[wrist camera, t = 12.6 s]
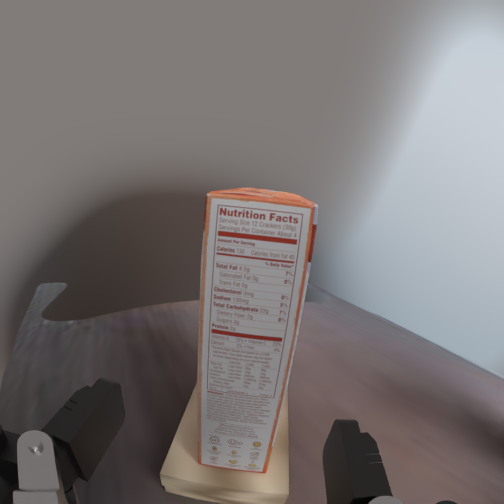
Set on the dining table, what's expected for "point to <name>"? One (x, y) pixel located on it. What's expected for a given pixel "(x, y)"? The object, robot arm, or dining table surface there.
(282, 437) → the birch stand
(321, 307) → the dining table surface
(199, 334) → the cracker box
